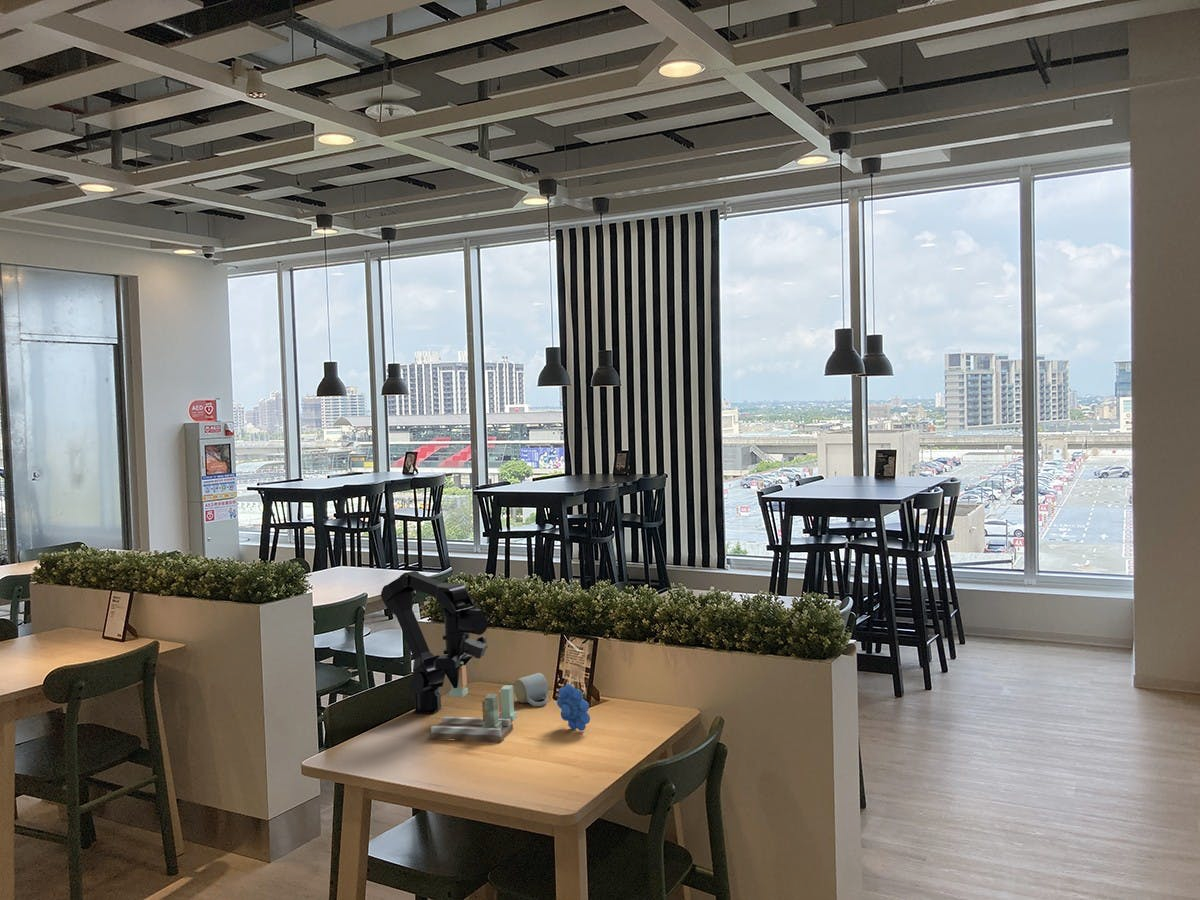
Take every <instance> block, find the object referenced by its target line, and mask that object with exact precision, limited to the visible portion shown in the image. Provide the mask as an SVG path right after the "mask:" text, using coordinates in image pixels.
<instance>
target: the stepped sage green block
mask: <svg viewBox="0 0 1200 900" xmlns="http://www.w3.org/2000/svg"><path fill="white" fill-rule="evenodd" d="M460 664H464V663H463V661H460ZM467 679H468V678H467V666H466V665H463V666H462V667H461V668H460V669H459V679H458V687H457V688H453V686H452V685H451V689H450V690H449V691H448V696H449V698H464V697H465V696H466V695H468V693H469V688H468V686H467V685H468V682H467V681H468V680H467Z"/></svg>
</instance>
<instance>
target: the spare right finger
mask: <svg viewBox="0 0 1200 900" xmlns="http://www.w3.org/2000/svg"><path fill="white" fill-rule="evenodd" d="M513 685H514V684H513ZM513 685H512V684H511V685H508V684H507V685H503V686H502V687H501V688H500V690H498V693H497V694H498V713H500V714H499V719H510V721H513V722H514V721H515V720H516V719H517V718H518V711H516V710H515V708H514V706H515V703H514V701H515V700H514V686H513ZM516 717H517V718H516ZM514 719H515V720H514Z"/></svg>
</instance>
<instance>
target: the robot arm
mask: <svg viewBox="0 0 1200 900" xmlns="http://www.w3.org/2000/svg"><path fill="white" fill-rule="evenodd" d="M415 591H418V592H421V593H423V594H424V595H427V596H429V597H432V598H434V599H435V601H436V603H437V604H438V605H440V606H442V608H441V609H440V610H439V611H438V613H439V614H440V615H443V617H444V635H442V640H443V641H444V640H445V649H444V650H443V651H442V652H443V654H441V655H440V654H436V655H434V654H433V653H432V652H431V651H430V648H429V646H428V643H427V641H426V638H425V636H424V634H423V631H422V629H421V626H420V624H419V622H418V620H417V617H416V615H415V613H414V610H413V600H414V595H413V592H415ZM380 597H381V600H382V602H383V604H384V605H385V607H386V609H387V610H389V611H390V612H391V613H393V615H395V617H396V619H397V622H398V623H399V626H400V628H401V630H402V634H403V635H404V638H405V641H406V643H407V646H408V648H409V651H410V653H411V656H412V657H413V667H412V673H413V677H412V678H411V680H410V681H409V683H408V689H409V692H411V693H414V709H413V711H412V713H413V714H430V713H433V714H435V713H436V712H438V711H439V710H440V709H441V708H442V707H443V706H442V699H441V698H442V697H441V692H440V689H439V688H443V687H444V682H445V678H446V677H447V679H448V680H449V683H450V684H451V687H452V686H453V688H457V687H458V679H459V669H460V668H461V667H462V666H463V665H466V667H467V666H468V664H469V663H470V661H471V660H473V658H475V659H481V658H482V657H484V656H485V653H486V650H487V649H488V648H489V646H488V643H487V639H486V637H485V636H482V635H483V634H484V633H485V632H486V631H487V628H488V625H489V621H488V618H487V617H486V615H485V614H483V613H482V612H483V610H482V609H480V608H477V607H476V605H475V603H474V600H473V599H472V597H471V596H470V593H469V592H468V590H467V588H466V586H465V585H464V584H461V583H453V582H452V583H450V582H448V583H447V582H442V581H440V580H437V579H435V578H432V577H429V576H427V575H424V574H422V573H420V572H419V571H416V570H412V571H407V572H403V573H402V574H400V576H399V577H397V578H396V579H394V580H392V581H391V582H389V583H388V584H386V585H384V586H383V587H382V589H381V591H380ZM476 608H477V609H476ZM470 634H471V635H477V636H479V635H480V636H479V637H478V638H471V637H470ZM460 661H463V663H464V664H460ZM441 706H442V707H441ZM440 707H441V708H440ZM439 708H440V709H439ZM438 709H439V710H438ZM437 710H438V711H437ZM434 712H435V713H434Z"/></svg>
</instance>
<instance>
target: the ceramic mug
mask: <svg viewBox="0 0 1200 900" xmlns="http://www.w3.org/2000/svg"><path fill="white" fill-rule="evenodd" d="M548 684H549V683H548V681H547V679H546V677H545V675H544V674H543V673H541V672H536V673H534V674H529V675H528V676H523V677H520V678H518V679H516V680H515V682H514V684H513V685H514V686H513V693H514V695H515V698H516V700H517V701H518V702H520V703H521V704H530V705H531V706H534V707H537V706H539V707H543V705H544V706H545V705H546V704H547V702H548V698H549V697H548V696H549V685H548ZM541 700H543V701H541Z"/></svg>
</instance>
